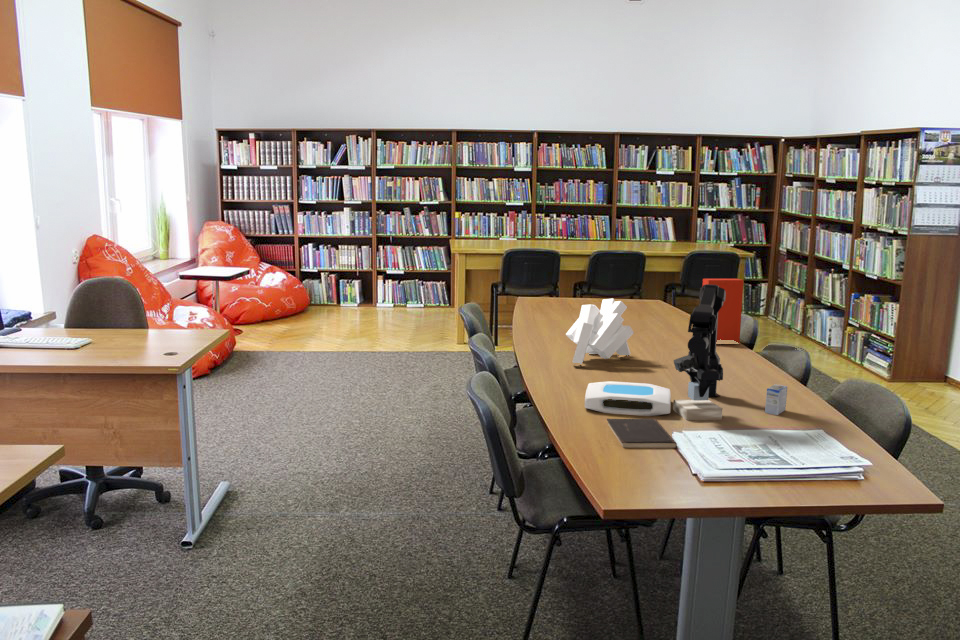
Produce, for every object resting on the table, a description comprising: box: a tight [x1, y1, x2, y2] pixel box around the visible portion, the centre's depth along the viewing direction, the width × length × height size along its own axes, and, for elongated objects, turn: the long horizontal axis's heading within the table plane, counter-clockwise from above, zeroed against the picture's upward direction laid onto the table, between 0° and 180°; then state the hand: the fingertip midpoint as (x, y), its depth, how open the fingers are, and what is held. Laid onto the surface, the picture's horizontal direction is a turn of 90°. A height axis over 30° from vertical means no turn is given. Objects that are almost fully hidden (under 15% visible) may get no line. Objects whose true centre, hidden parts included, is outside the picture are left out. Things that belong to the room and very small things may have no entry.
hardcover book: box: [606, 418, 678, 449], centre depth 230 cm, size 16×23×2 cm
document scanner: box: [584, 380, 672, 417], centre depth 262 cm, size 21×28×6 cm
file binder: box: [701, 278, 744, 344], centre depth 373 cm, size 8×17×32 cm, turn 95°
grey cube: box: [687, 381, 709, 401], centre depth 251 cm, size 5×5×5 cm
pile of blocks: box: [565, 297, 635, 365], centre depth 333 cm, size 35×30×35 cm
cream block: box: [672, 398, 723, 421], centre depth 252 cm, size 12×12×4 cm
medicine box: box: [764, 383, 788, 416], centre depth 256 cm, size 8×4×9 cm, turn 141°
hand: (698, 394), depth 252 cm, fingers closed on grey cube, 5 cm apart
